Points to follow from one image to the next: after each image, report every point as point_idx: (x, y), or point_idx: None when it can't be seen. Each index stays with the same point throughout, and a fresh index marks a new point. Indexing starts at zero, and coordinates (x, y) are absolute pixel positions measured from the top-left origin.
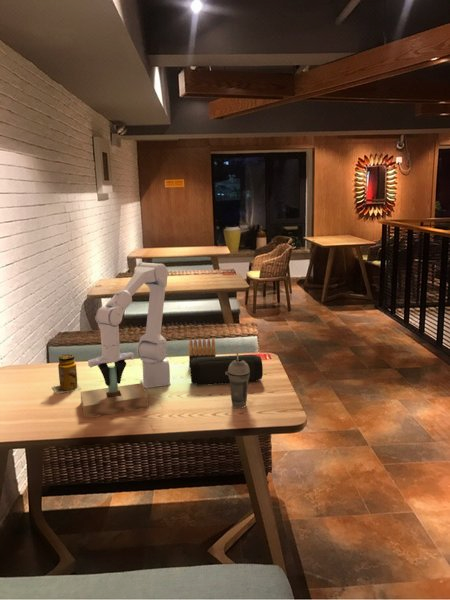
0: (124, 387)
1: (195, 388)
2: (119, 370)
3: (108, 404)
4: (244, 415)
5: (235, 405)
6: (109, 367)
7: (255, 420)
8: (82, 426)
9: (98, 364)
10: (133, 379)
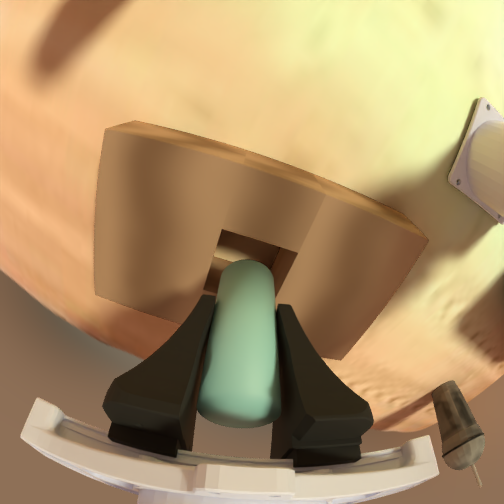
0: (342, 234)
1: (498, 289)
2: (274, 423)
3: None
4: (411, 411)
5: (433, 398)
6: (222, 405)
7: (401, 422)
8: (105, 304)
9: (111, 441)
10: (467, 52)
